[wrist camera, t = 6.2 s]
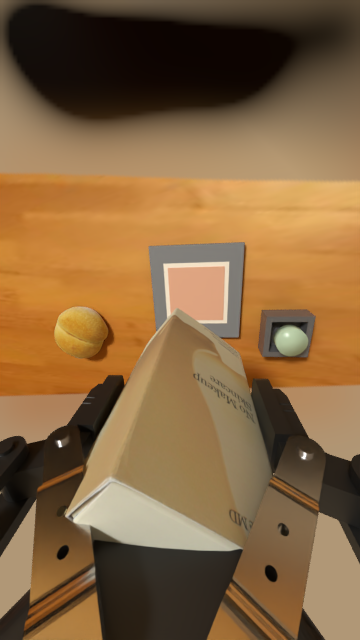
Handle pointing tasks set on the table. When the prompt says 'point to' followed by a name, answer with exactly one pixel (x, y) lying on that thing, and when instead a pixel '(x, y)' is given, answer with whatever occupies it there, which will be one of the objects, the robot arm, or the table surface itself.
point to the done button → (290, 340)
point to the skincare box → (178, 449)
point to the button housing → (277, 319)
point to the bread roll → (80, 332)
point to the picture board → (199, 284)
